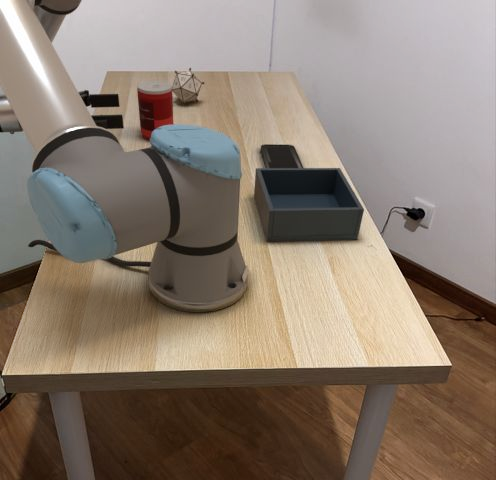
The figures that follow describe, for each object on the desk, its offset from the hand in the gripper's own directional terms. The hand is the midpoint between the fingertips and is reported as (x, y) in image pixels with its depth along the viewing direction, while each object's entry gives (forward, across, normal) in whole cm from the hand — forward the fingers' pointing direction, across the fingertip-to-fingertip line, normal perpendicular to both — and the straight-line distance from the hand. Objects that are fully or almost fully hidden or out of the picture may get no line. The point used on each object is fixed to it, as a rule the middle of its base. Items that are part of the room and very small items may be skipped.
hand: (121, 110), depth 121 cm
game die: (+18, -22, -6) cm, 29 cm away
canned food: (+8, 0, -6) cm, 10 cm away
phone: (+33, +19, -6) cm, 38 cm away
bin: (+30, +43, -6) cm, 53 cm away
